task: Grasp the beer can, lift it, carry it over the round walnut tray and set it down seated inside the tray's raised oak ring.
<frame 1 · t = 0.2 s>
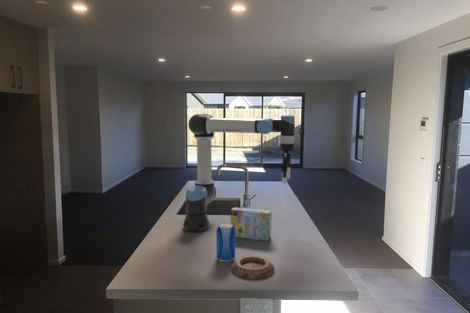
hand: (286, 180, 198), 28 cm above the table, fingers open, 13 cm apart
snack box: (250, 237, 188), on the table
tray: (252, 269, 150), on the table
beer can: (225, 259, 160), on the table
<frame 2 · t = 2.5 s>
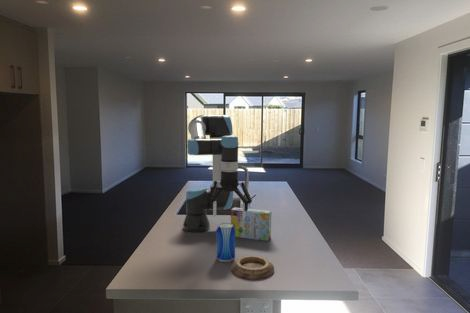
hand: (229, 217, 159), 19 cm above the table, fingers open, 13 cm apart
nothing on the table moved.
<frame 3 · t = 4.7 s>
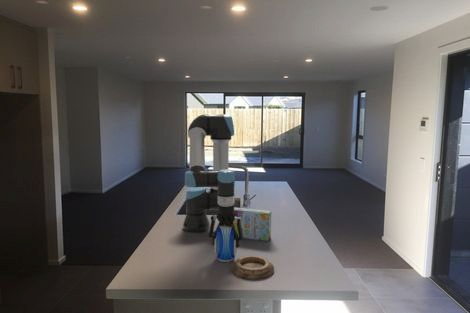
hand: (225, 253, 160), 3 cm above the table, fingers closed on beer can, 8 cm apart
beer can: (225, 259, 160), on the table, touching gripper
everything else where it was.
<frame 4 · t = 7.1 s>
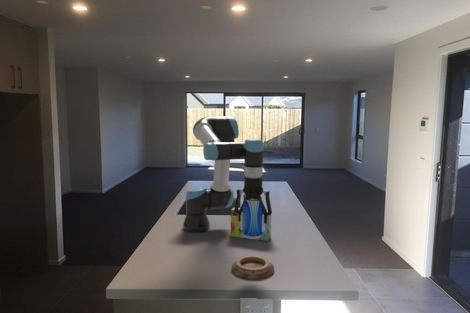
hand: (252, 229, 148), 18 cm above the table, fingers closed on beer can, 8 cm apart
beer can: (252, 236, 148), point 15 cm above the table, touching gripper
everything else where it was.
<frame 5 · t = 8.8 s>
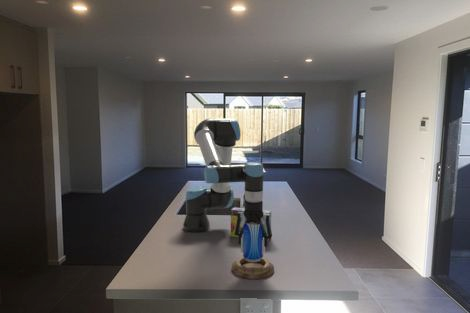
hand: (252, 252, 149), 8 cm above the table, fingers closed on beer can, 8 cm apart
beer can: (252, 259, 149), point 5 cm above the table, touching gripper
everything else where it was.
when the fingers open (5 cm above the table, at t = 9.8 s): beer can drops 1 cm, resting on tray.
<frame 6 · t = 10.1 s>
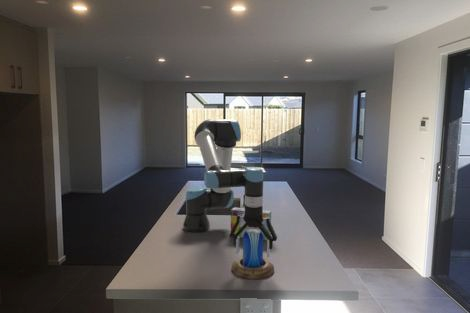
hand: (252, 254, 149), 7 cm above the table, fingers open, 13 cm apart
beer can: (252, 267, 150), point 1 cm above the table, touching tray
everything else where it was.
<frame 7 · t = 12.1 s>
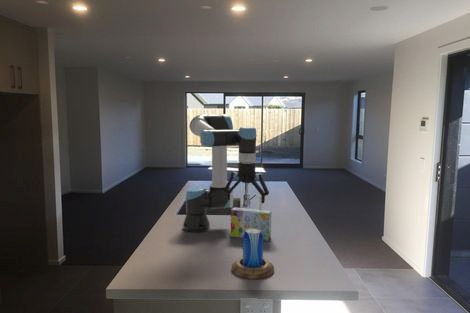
hand: (245, 208, 159), 23 cm above the table, fingers open, 13 cm apart
nothing on the table moved.
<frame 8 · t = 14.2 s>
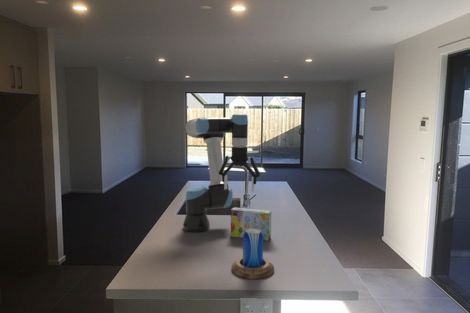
hand: (239, 189, 171), 29 cm above the table, fingers open, 13 cm apart
nothing on the table moved.
at the end: beer can 0.0 cm from the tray (horizontally); beer can tilted 0°; the gripper is holding nothing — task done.
